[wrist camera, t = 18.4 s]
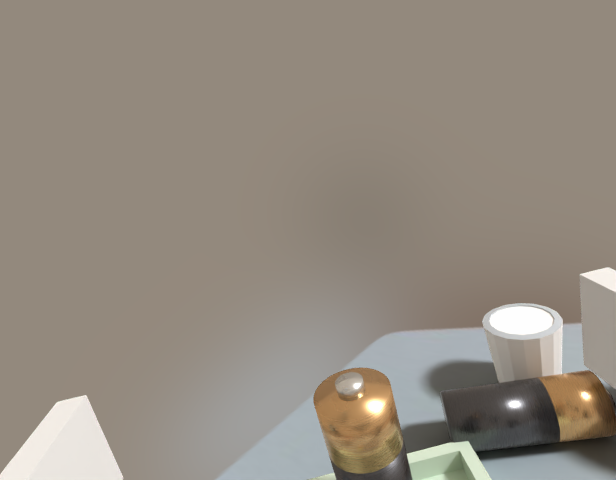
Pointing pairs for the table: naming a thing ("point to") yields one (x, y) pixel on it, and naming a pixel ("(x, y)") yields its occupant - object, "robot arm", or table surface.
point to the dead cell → (530, 411)
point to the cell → (361, 426)
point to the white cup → (524, 341)
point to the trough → (442, 464)
